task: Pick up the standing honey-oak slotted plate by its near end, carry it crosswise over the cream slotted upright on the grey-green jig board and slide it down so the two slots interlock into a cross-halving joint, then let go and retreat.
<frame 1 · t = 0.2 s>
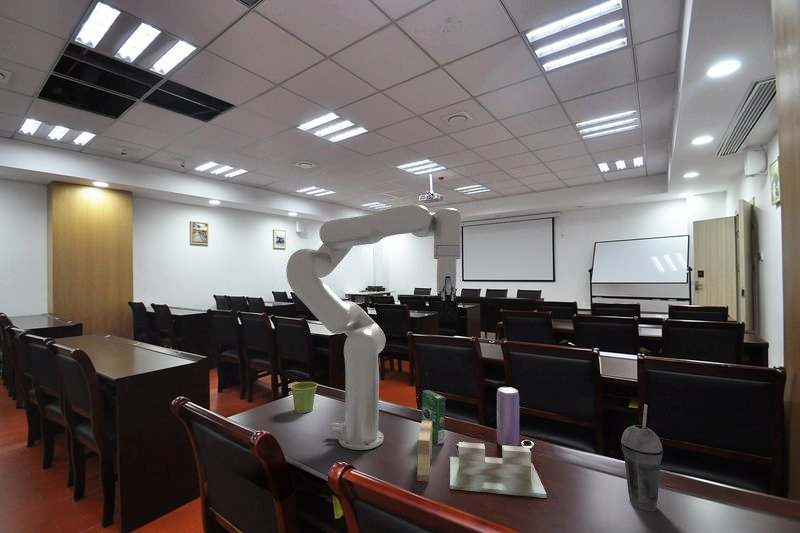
hand: (447, 314, 98), 36 cm above the table, tool pointing down, fingers open, 9 cm apart
oak plate: (425, 467, 86), on the table
beverage can: (508, 444, 99), on the table
beverage cup: (642, 505, 72), on the table
plant pot: (303, 411, 124), on the table
coffee box: (432, 440, 101), on the table
jig: (493, 477, 82), on the table
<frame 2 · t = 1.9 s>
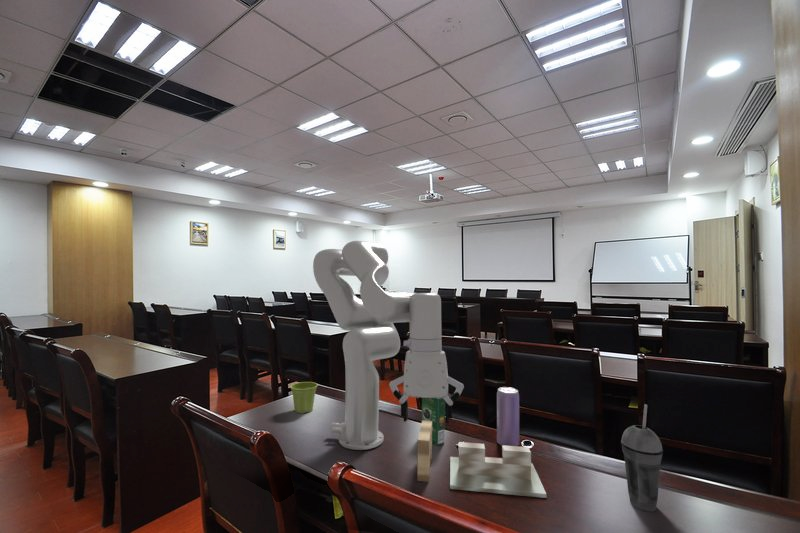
hand: (426, 420, 82), 13 cm above the table, tool pointing down, fingers open, 9 cm apart
nothing on the table moved.
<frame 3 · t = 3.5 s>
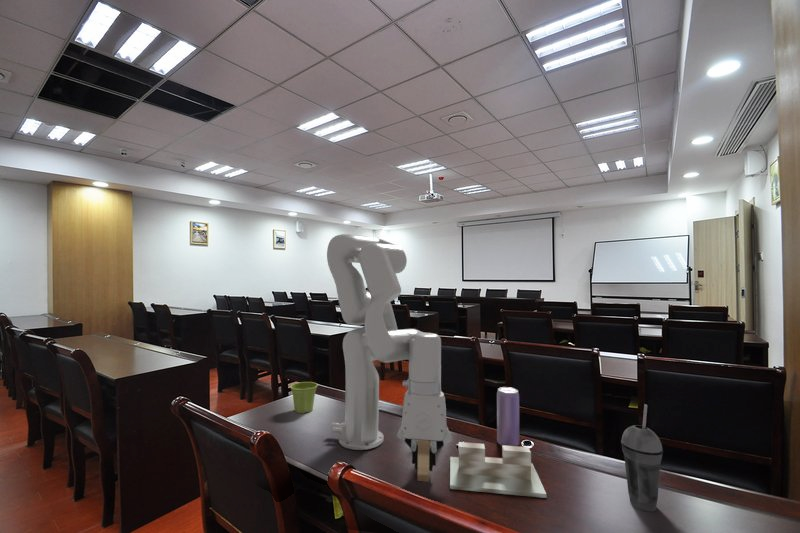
hand: (424, 466, 82), 2 cm above the table, tool pointing down, fingers closed on oak plate, 2 cm apart
oak plate: (425, 467, 86), on the table, touching gripper
everything else where it was.
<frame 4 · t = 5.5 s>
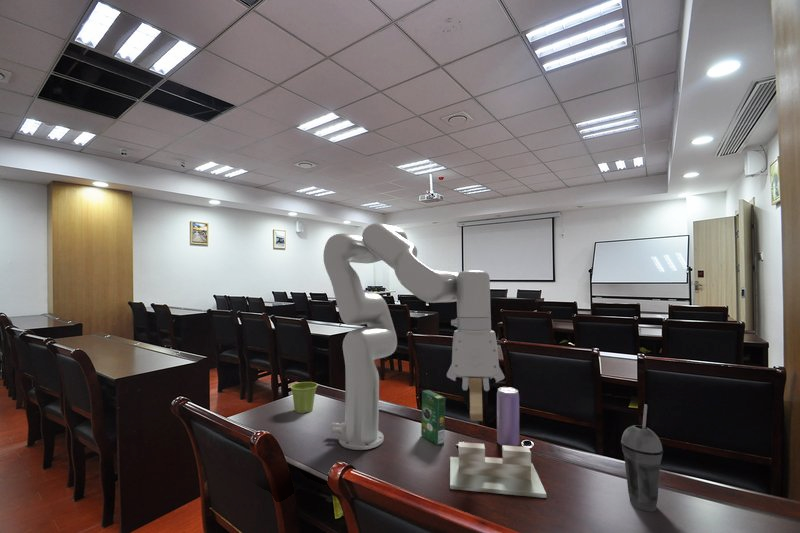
hand: (475, 406, 80), 17 cm above the table, tool pointing down, fingers closed on oak plate, 2 cm apart
oak plate: (475, 411, 83), point 15 cm above the table, touching gripper
everything else where it was.
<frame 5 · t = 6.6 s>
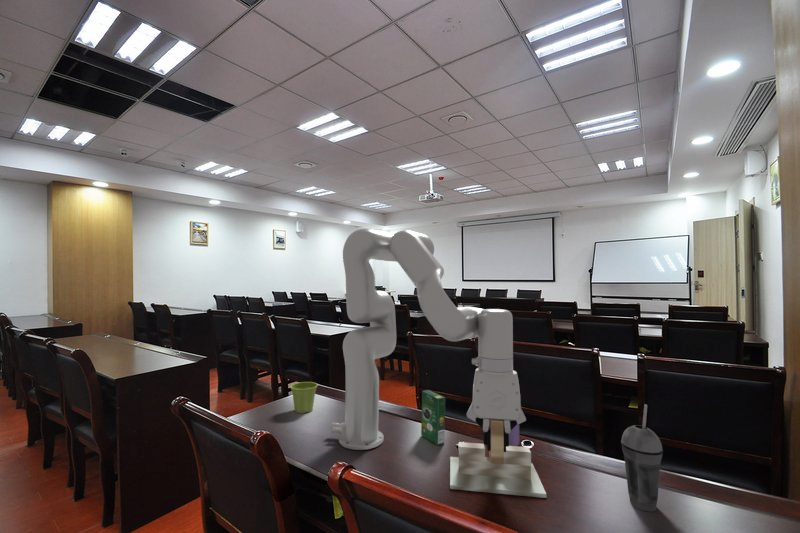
hand: (495, 447, 79), 8 cm above the table, tool pointing down, fingers closed on oak plate, 2 cm apart
oak plate: (494, 451, 82), point 6 cm above the table, touching gripper
everything else where it was.
when the fingers open (5 cm above the table, at t = 7.6 s): oak plate drops 2 cm, resting on jig.
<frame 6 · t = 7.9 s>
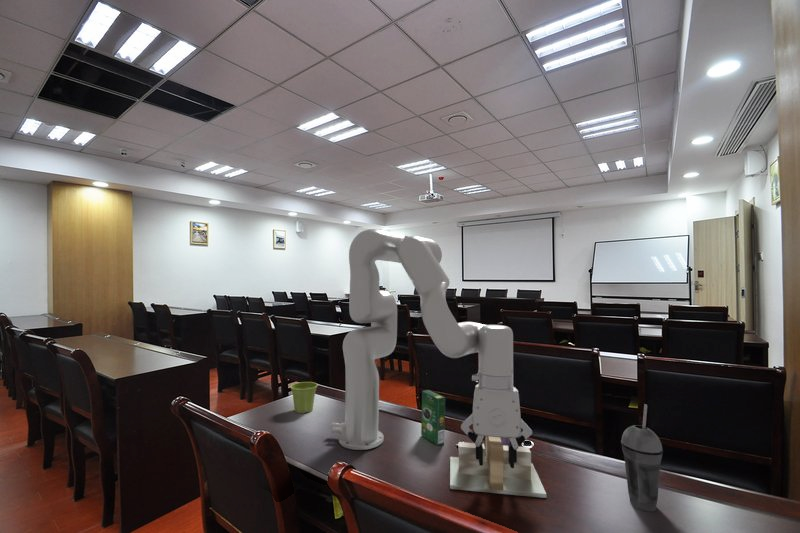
hand: (495, 463, 78), 5 cm above the table, tool pointing down, fingers open, 6 cm apart
oak plate: (493, 475, 81), point 1 cm above the table, touching jig
everything else where it was.
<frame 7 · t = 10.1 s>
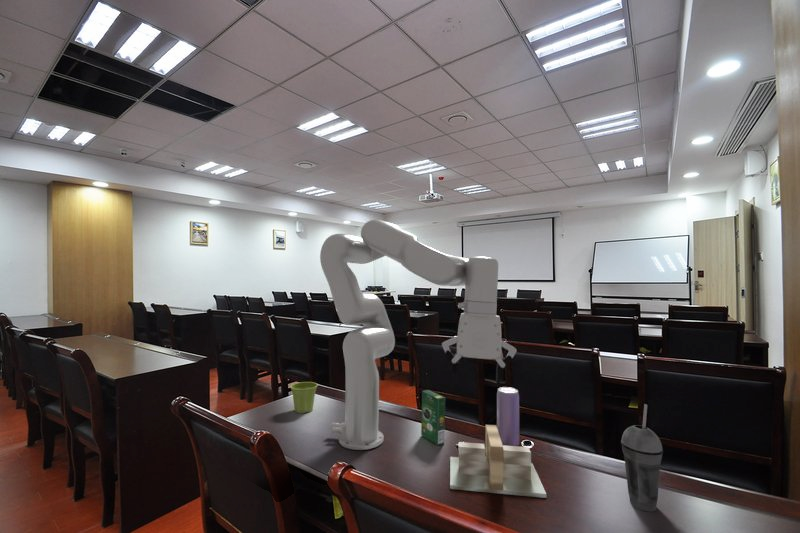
hand: (477, 381, 84), 22 cm above the table, tool pointing down, fingers open, 9 cm apart
nothing on the table moved.
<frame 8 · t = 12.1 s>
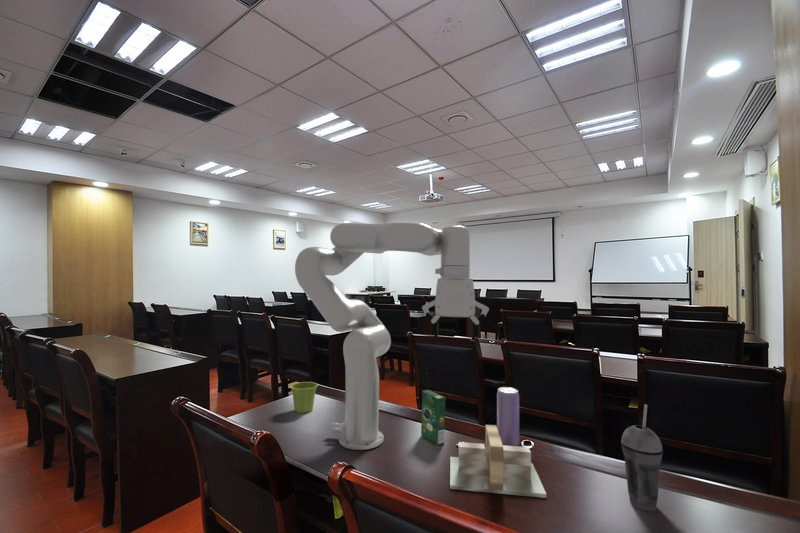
hand: (454, 338, 92), 30 cm above the table, tool pointing down, fingers open, 9 cm apart
nothing on the table moved.
at the end: oak plate 0.7 cm off-centre on the jig, point 0.8 cm above the jig's base; oak plate tilted 0°; the gripper is holding nothing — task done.
